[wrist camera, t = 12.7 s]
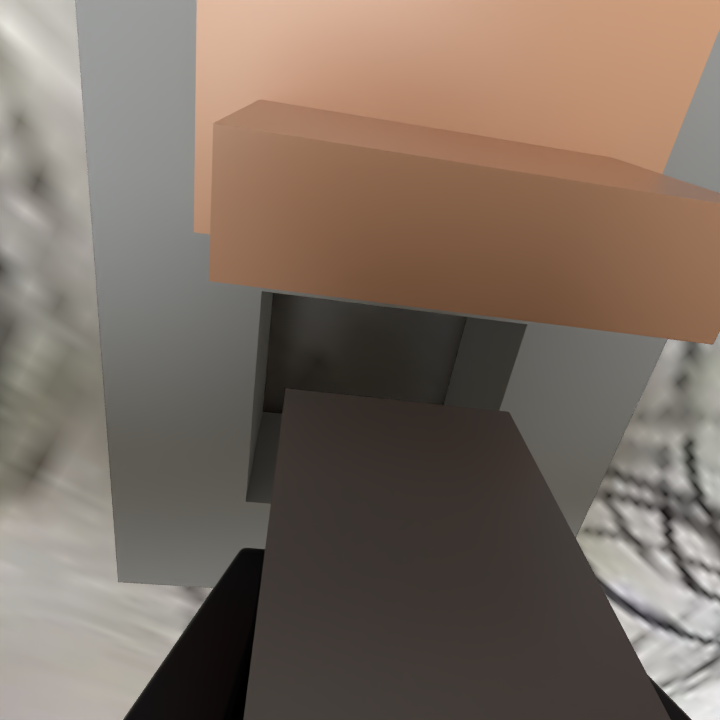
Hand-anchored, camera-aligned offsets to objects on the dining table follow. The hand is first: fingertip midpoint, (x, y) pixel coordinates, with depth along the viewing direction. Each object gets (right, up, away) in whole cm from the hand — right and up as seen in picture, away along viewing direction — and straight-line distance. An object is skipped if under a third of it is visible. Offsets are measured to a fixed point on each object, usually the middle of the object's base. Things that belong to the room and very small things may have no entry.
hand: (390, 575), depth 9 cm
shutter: (+1, +8, 0) cm, 8 cm away
